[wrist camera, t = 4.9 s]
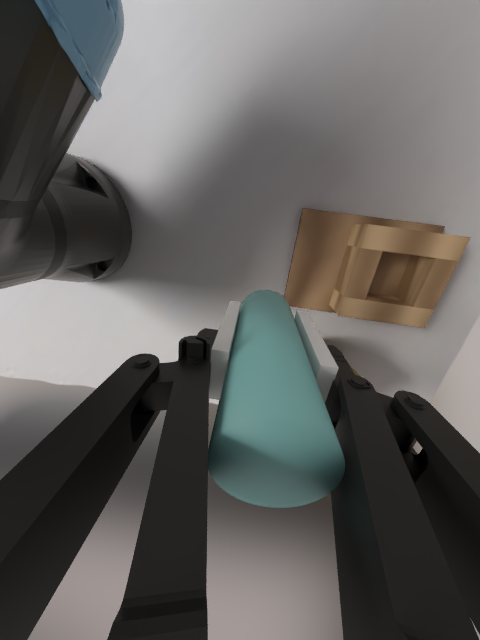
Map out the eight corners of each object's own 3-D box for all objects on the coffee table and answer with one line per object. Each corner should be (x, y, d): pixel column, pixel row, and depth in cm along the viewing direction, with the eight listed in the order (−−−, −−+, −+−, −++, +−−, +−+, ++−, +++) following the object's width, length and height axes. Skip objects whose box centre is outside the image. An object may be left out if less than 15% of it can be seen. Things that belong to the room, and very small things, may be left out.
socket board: (282, 302, 31) (286, 316, 27) (302, 208, 27) (311, 205, 22) (397, 319, 31) (420, 335, 26) (438, 226, 26) (476, 226, 21)
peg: (236, 333, 18) (203, 496, 7) (242, 286, 17) (211, 406, 6) (284, 340, 18) (323, 516, 7) (295, 293, 17) (366, 431, 6)
